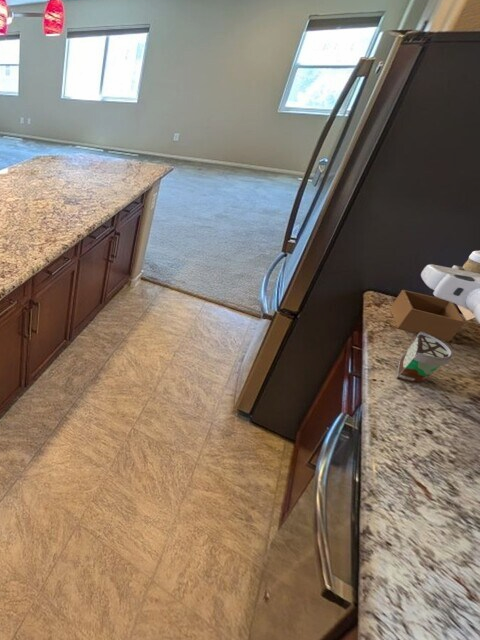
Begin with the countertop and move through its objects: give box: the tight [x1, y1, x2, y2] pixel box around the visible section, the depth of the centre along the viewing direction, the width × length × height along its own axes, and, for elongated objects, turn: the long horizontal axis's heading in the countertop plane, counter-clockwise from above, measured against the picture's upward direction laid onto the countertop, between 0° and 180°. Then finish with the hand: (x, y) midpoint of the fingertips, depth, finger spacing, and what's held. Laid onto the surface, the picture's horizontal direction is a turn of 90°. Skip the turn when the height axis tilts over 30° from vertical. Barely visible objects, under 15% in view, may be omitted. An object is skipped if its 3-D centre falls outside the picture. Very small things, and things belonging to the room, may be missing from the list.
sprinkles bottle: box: [462, 250, 480, 274], centre depth 102 cm, size 5×5×13 cm
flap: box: [456, 304, 476, 322], centre depth 111 cm, size 5×12×1 cm
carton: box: [389, 289, 466, 343], centre depth 118 cm, size 11×12×8 cm
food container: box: [396, 332, 452, 384], centre depth 100 cm, size 12×6×10 cm, turn 132°
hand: (470, 271), depth 102 cm, fingers closed on sprinkles bottle, 4 cm apart
